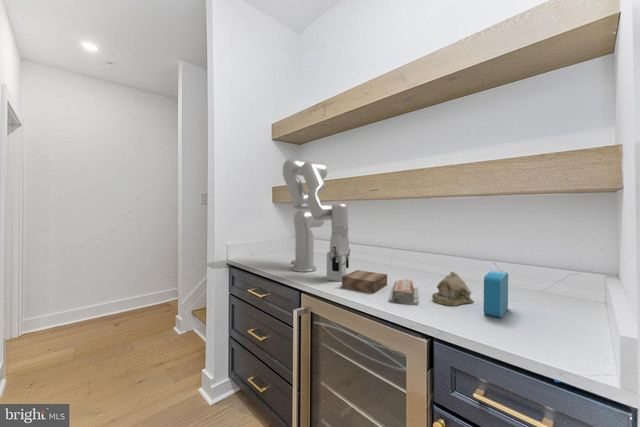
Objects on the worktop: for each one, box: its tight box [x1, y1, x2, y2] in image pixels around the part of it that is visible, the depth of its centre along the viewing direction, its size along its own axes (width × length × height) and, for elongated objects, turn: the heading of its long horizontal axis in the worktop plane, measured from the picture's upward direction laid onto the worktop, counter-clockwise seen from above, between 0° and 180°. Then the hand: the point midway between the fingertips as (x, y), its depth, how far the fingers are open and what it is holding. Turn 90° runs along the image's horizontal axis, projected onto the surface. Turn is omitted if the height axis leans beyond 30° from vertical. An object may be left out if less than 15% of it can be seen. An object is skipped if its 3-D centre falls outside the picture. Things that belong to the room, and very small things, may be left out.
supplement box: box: [326, 251, 347, 282], centre depth 125 cm, size 7×7×13 cm
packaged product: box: [388, 279, 419, 306], centre depth 101 cm, size 18×5×10 cm
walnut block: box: [341, 269, 388, 295], centre depth 113 cm, size 14×14×5 cm
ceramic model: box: [431, 271, 474, 306], centre depth 96 cm, size 14×11×10 cm
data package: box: [483, 270, 509, 319], centre depth 85 cm, size 12×4×12 cm, turn 137°
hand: (340, 269), depth 124 cm, fingers closed on supplement box, 8 cm apart
